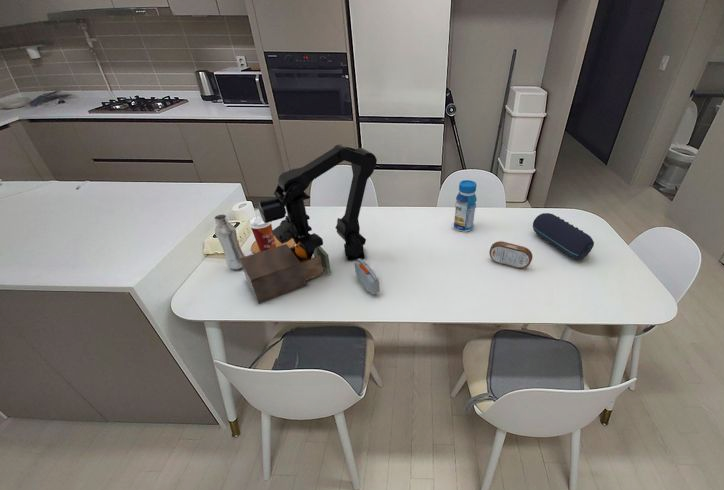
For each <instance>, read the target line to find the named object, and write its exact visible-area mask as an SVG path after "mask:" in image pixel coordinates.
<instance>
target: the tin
mask: <svg viewBox="0 0 724 490" xmlns="http://www.w3.org/2000/svg"><path fill="white" fill-rule="evenodd" d="M489 257H490V259H491V260H492V261H493V262H495V263H496V264H500V265H503V266H508V267H512V268H515V269H526V268H528V267H529V266H530V264H531V263H532V261H533V257H534V255H533V253H532V251H531V250H530V249H529V248H528V247H526V246H523V245H519V244H515V243H510V242H506V241H502V240H500V241H496V242H493V243H492V244H491V245H490V248H489Z"/></svg>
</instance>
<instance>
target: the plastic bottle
mask: <svg viewBox="0 0 724 490" xmlns="http://www.w3.org/2000/svg"><path fill="white" fill-rule="evenodd" d="M214 221H215V224H216V225H215V229H214V234H215V236H216V239H217V240H218V242H219V243H220V246H221V248H222V250H223V254H224V257H225V263H226V265H227V267H228V268H230V269H231V270H240V269H243V268H242V265H241V262H240V259H239V258H243V257H246V256H245V253H244V252H243V250H242V248H241V246H240V243H239V240H238V235H237V229H236V227H235V225H233V224H232V223H230V222H229V219H228V217H227V215H226V214H218V215H215V216H214Z"/></svg>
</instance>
